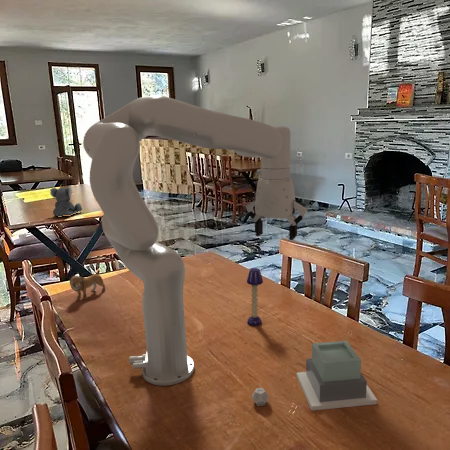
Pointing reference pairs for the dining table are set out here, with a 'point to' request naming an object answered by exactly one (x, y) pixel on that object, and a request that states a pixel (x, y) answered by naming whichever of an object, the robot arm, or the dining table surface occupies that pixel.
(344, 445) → the dining table surface
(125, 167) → the robot arm
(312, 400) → the stepped pedestal
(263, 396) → the game die
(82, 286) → the lion figurine
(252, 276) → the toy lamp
